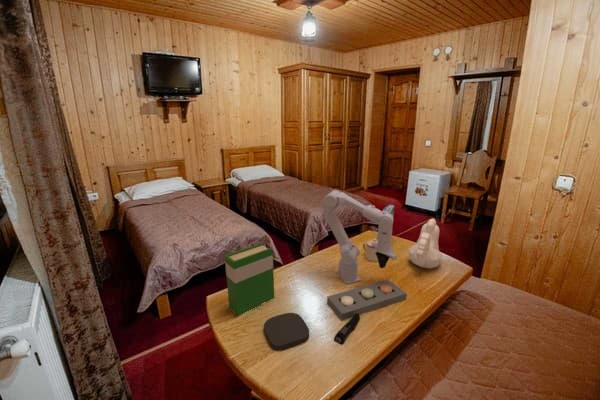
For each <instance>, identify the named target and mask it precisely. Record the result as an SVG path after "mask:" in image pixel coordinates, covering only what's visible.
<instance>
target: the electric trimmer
mask: <svg viewBox="0 0 600 400" xmlns="http://www.w3.org/2000/svg"><path fill="white" fill-rule="evenodd" d="M360 320H361V317H360V315H359V314H358V313H356V314H355V315H354V316H353V317H351V318H349V320H348V321H347V322H346V323H345V324H344V325H343V326H342V327H341V328H340V330H338V331H337V332H336V334H335V336H334V338H333V341H334V342H335V343H337V344H339V345H344V344H345V341H346V337H347V336H348V335H349V334H350V333H351V331H354V330H355V329H356V327H357V325H358V323H359V322H360Z"/></svg>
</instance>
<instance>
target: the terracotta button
mask: <svg viewBox="0 0 600 400" xmlns="http://www.w3.org/2000/svg"><path fill="white" fill-rule="evenodd" d="M380 290H381V291H382V292H383V293H384V294H388V293H391V292H392V287H391V286H389V285H381V286H380Z"/></svg>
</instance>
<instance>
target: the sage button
mask: <svg viewBox="0 0 600 400" xmlns="http://www.w3.org/2000/svg"><path fill="white" fill-rule="evenodd" d="M373 294H374V292H373V291H372V290H371V289H368V288H365V289H362V291H361V296H362V297H363V298H364V299H365V300H369V299H372V298H373Z"/></svg>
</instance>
